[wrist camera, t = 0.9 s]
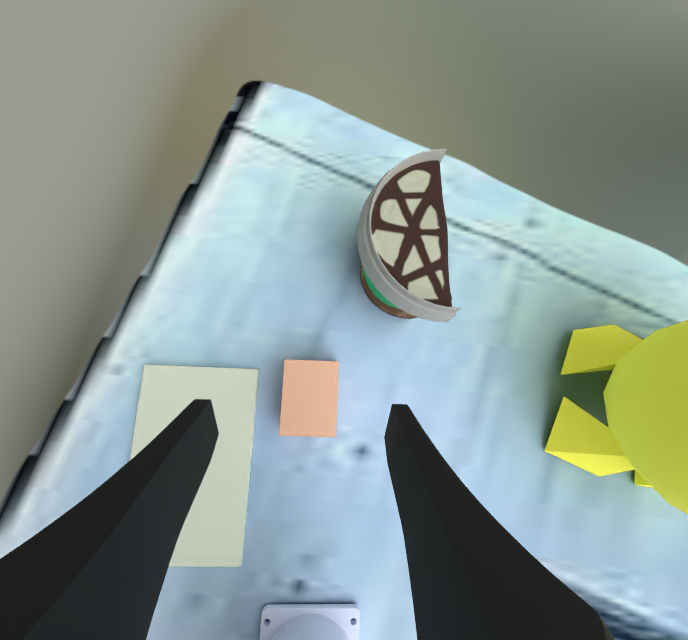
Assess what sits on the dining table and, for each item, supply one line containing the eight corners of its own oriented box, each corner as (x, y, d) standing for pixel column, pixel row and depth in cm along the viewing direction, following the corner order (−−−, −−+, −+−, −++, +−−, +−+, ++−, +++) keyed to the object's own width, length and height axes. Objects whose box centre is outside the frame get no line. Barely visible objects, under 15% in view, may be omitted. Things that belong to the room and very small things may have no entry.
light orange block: (334, 426, 25) (335, 436, 22) (285, 425, 25) (279, 435, 22) (337, 361, 26) (338, 361, 23) (290, 359, 26) (284, 359, 23)
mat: (242, 561, 23) (240, 566, 22) (119, 561, 23) (113, 566, 22) (259, 369, 26) (258, 369, 25) (148, 364, 25) (144, 364, 24)
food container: (346, 216, 28) (357, 139, 19) (405, 217, 29) (445, 141, 19) (349, 334, 27) (363, 318, 17) (412, 333, 27) (461, 317, 17)
